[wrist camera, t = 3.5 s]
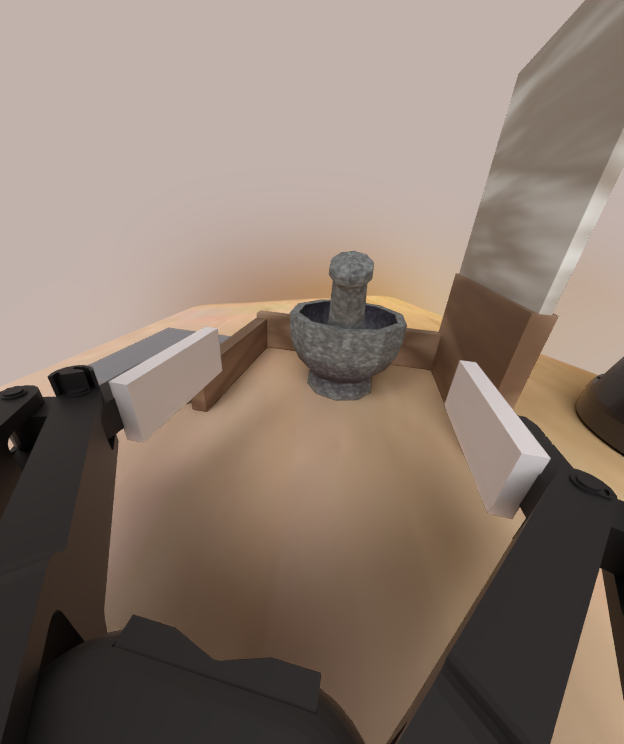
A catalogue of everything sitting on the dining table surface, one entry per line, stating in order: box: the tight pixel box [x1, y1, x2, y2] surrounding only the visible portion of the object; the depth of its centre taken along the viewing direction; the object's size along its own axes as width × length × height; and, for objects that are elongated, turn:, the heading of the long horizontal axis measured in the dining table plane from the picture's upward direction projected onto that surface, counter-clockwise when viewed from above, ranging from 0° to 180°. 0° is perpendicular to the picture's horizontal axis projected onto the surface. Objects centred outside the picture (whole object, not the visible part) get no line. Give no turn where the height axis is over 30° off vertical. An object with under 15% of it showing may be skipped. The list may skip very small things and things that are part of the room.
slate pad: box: [88, 328, 231, 404], centre depth 28 cm, size 11×13×1 cm
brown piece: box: [191, 0, 624, 412], centre depth 21 cm, size 21×15×24 cm
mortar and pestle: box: [290, 251, 407, 401], centre depth 23 cm, size 11×9×12 cm
